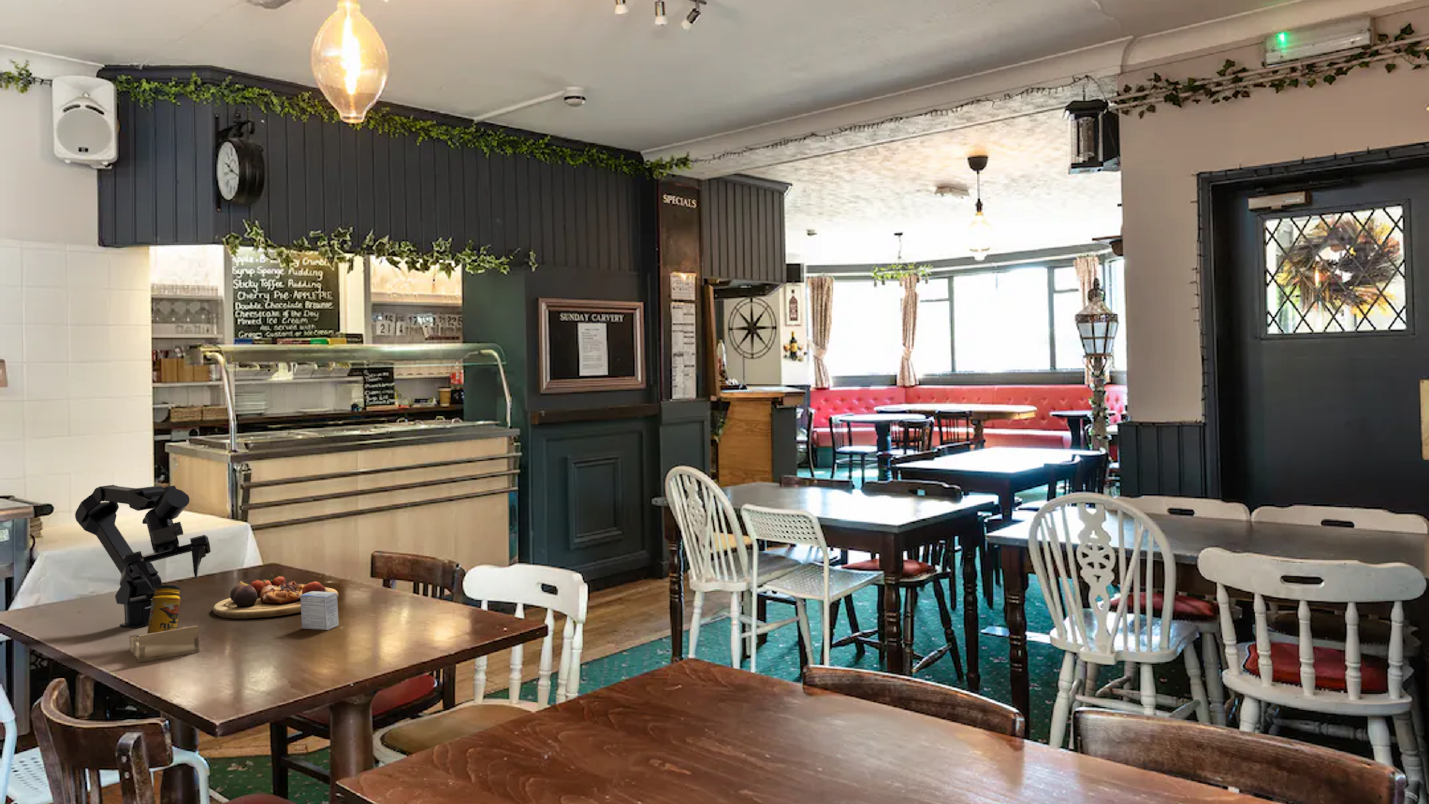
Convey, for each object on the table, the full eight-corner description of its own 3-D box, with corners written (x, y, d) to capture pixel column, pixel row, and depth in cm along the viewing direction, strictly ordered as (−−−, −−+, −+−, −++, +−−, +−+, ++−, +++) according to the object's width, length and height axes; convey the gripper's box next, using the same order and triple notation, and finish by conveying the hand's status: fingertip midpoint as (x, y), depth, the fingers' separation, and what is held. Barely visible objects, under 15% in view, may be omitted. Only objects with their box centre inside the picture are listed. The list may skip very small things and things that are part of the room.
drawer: (130, 650, 229) (128, 625, 229) (187, 640, 237) (185, 616, 237) (140, 662, 219) (139, 636, 219) (199, 651, 227) (198, 626, 227)
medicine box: (339, 626, 247) (337, 592, 247) (326, 630, 243) (325, 596, 242) (313, 624, 249) (312, 590, 249) (301, 628, 245) (299, 594, 245)
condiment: (175, 635, 229) (181, 584, 233) (134, 636, 226) (141, 583, 230) (179, 638, 236) (185, 588, 239) (139, 638, 233) (146, 587, 236)
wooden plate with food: (363, 600, 276) (361, 570, 276) (256, 625, 250) (255, 593, 250) (295, 590, 294) (294, 563, 294) (189, 613, 267) (188, 583, 267)
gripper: (114, 524, 236) (127, 581, 229) (199, 504, 245) (214, 558, 239) (121, 545, 244) (134, 600, 238) (203, 525, 254) (217, 577, 247)
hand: (175, 583), depth 240 cm, fingers open, 9 cm apart
